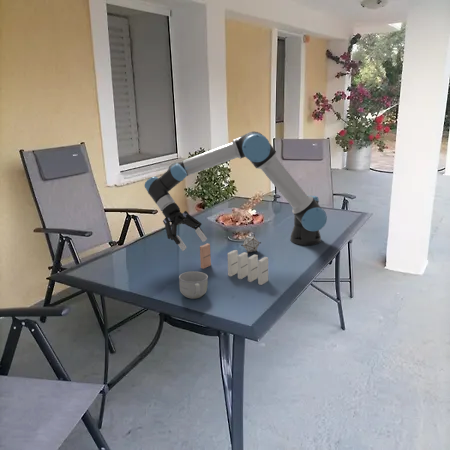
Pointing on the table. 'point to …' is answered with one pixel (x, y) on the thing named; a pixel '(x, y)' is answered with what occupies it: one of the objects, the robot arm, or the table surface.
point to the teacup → (193, 284)
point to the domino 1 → (205, 255)
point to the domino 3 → (242, 265)
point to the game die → (251, 244)
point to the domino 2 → (232, 262)
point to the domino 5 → (262, 270)
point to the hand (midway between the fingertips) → (195, 244)
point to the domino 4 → (252, 267)
